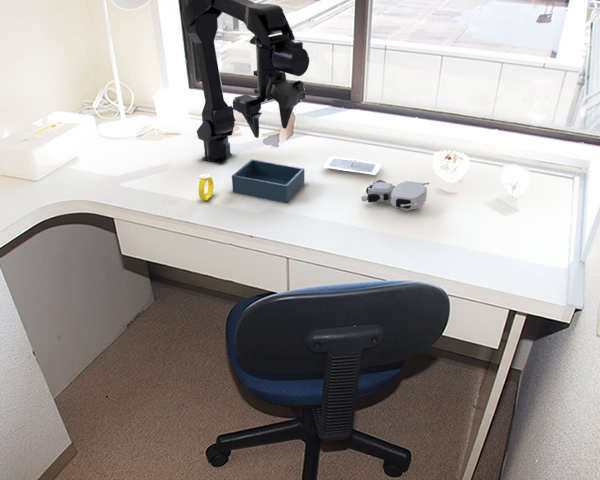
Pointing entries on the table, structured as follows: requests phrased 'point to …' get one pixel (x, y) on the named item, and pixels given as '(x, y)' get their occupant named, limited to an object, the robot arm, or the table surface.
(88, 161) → the table surface
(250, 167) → the organiser tray
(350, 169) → the touchpad
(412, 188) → the robot toy
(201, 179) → the watch
